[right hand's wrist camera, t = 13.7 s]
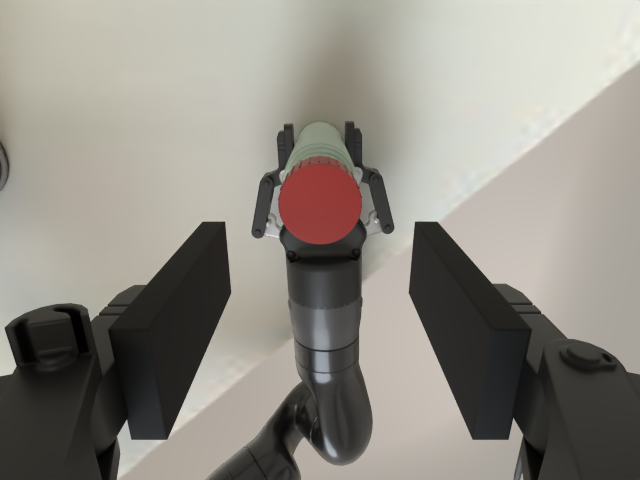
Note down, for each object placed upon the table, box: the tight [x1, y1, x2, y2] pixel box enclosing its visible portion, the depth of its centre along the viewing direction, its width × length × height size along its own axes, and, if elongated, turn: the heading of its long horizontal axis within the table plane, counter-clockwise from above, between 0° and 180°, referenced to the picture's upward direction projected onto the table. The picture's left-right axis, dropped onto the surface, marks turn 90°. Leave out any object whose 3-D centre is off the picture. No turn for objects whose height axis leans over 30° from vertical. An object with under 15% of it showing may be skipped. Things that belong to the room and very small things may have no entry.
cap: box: [278, 155, 362, 244], centre depth 22 cm, size 4×4×2 cm
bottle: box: [284, 121, 356, 180], centre depth 32 cm, size 5×5×24 cm
